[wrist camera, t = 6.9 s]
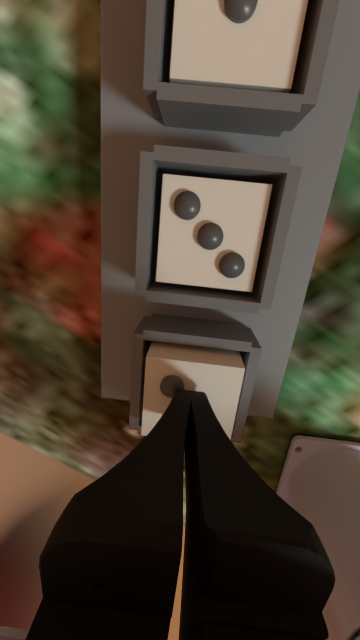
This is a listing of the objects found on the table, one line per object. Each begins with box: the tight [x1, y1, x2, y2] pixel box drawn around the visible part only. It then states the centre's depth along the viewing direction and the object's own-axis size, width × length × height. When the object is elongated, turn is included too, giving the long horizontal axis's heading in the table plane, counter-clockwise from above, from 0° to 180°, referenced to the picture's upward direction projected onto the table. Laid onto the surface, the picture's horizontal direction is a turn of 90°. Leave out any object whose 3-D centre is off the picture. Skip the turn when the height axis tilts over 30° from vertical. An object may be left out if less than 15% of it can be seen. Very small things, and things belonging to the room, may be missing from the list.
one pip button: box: [170, 0, 308, 93], centre depth 9 cm, size 4×4×2 cm
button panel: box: [101, 0, 360, 443], centre depth 13 cm, size 21×11×5 cm, turn 174°
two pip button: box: [141, 341, 245, 440], centre depth 13 cm, size 4×4×2 cm
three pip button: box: [156, 174, 273, 292], centre depth 12 cm, size 4×4×2 cm
